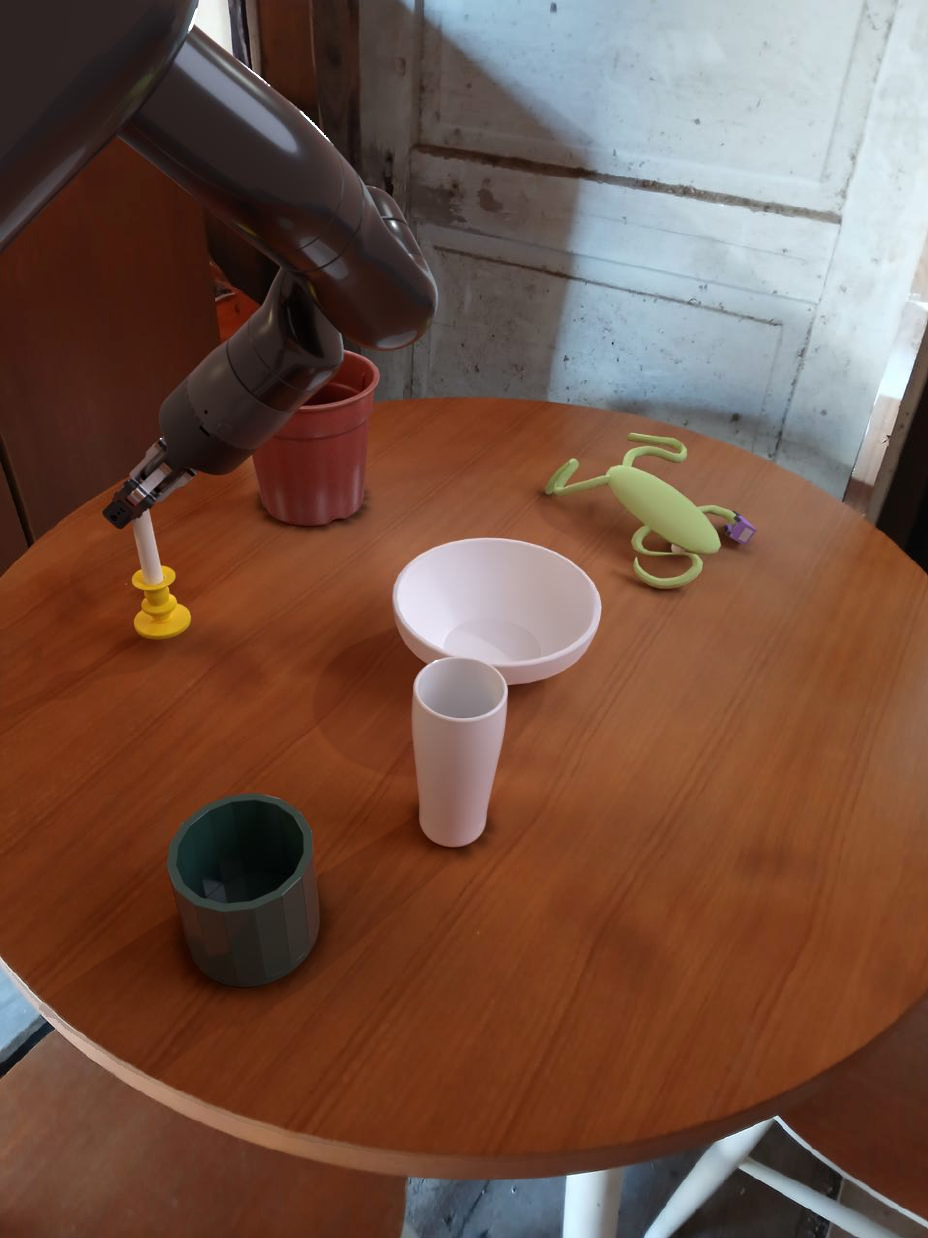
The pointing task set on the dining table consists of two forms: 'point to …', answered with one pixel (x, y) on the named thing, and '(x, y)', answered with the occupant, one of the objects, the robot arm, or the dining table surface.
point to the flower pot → (321, 451)
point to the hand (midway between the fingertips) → (119, 513)
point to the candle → (155, 588)
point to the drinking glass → (457, 745)
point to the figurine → (659, 508)
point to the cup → (246, 888)
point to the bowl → (497, 607)
